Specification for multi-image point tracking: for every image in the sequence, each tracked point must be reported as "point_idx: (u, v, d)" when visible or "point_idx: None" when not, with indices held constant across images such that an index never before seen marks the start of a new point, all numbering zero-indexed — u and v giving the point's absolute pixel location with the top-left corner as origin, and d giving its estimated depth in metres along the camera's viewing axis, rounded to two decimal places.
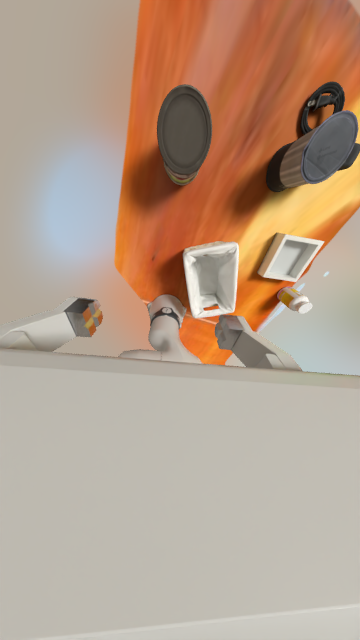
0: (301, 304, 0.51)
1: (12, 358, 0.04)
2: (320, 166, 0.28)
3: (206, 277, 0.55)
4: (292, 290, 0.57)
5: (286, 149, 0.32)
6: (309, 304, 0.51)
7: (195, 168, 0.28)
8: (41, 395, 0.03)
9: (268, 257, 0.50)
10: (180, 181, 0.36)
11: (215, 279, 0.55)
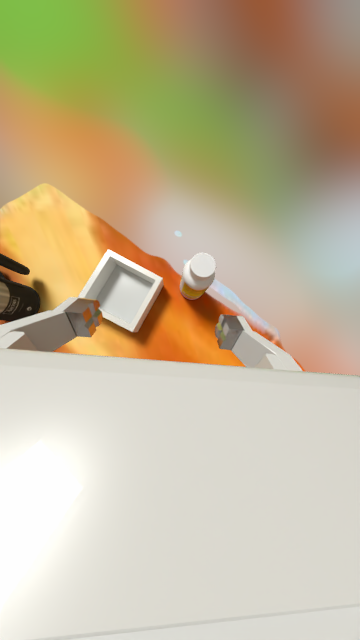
0: (192, 272, 0.24)
1: (12, 358, 0.04)
2: None
3: None
4: None
5: None
6: (194, 258, 0.24)
7: None
8: (41, 395, 0.03)
9: None
10: None
11: None
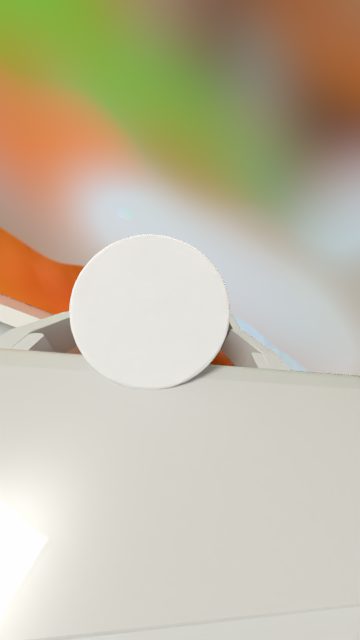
0: None
1: (12, 358, 0.04)
2: None
3: None
4: None
5: None
6: (98, 272, 0.04)
7: None
8: (41, 395, 0.03)
9: None
10: None
11: None
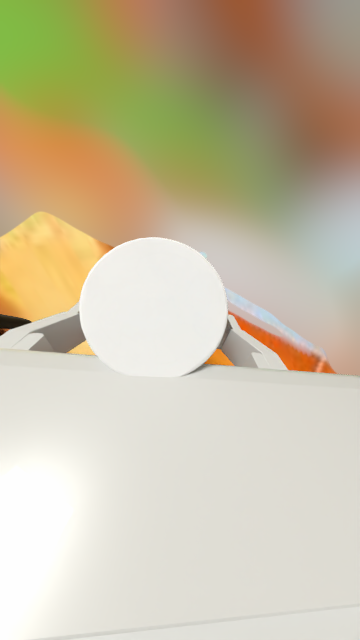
0: None
1: (12, 358, 0.04)
2: None
3: None
4: None
5: None
6: (105, 273, 0.04)
7: None
8: (41, 395, 0.03)
9: None
10: None
11: None
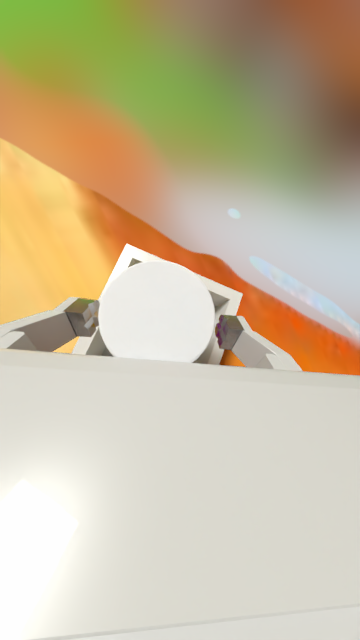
0: None
1: (12, 358, 0.04)
2: None
3: None
4: None
5: None
6: (118, 290, 0.05)
7: None
8: (41, 395, 0.03)
9: None
10: None
11: None
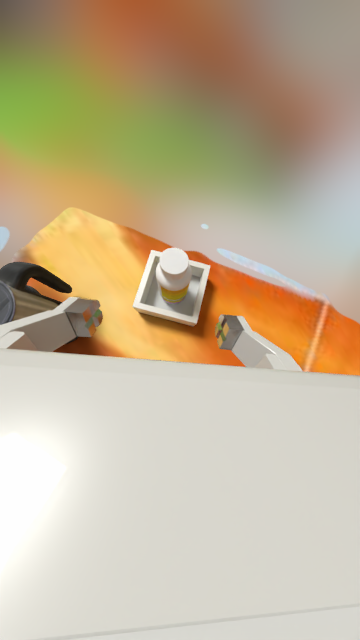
0: (163, 272, 0.21)
1: (12, 358, 0.04)
2: None
3: None
4: None
5: None
6: (163, 256, 0.21)
7: None
8: (41, 395, 0.03)
9: (167, 318, 0.31)
10: None
11: None
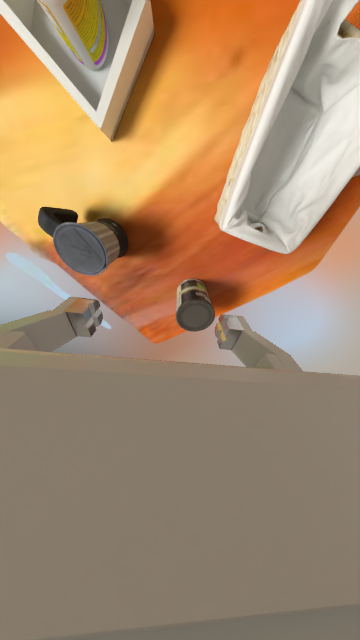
0: None
1: (12, 358, 0.04)
2: (85, 242, 0.25)
3: (269, 161, 0.27)
4: (70, 44, 0.18)
5: None
6: None
7: (198, 301, 0.33)
8: (41, 395, 0.03)
9: (128, 79, 0.21)
10: (204, 289, 0.41)
11: None
